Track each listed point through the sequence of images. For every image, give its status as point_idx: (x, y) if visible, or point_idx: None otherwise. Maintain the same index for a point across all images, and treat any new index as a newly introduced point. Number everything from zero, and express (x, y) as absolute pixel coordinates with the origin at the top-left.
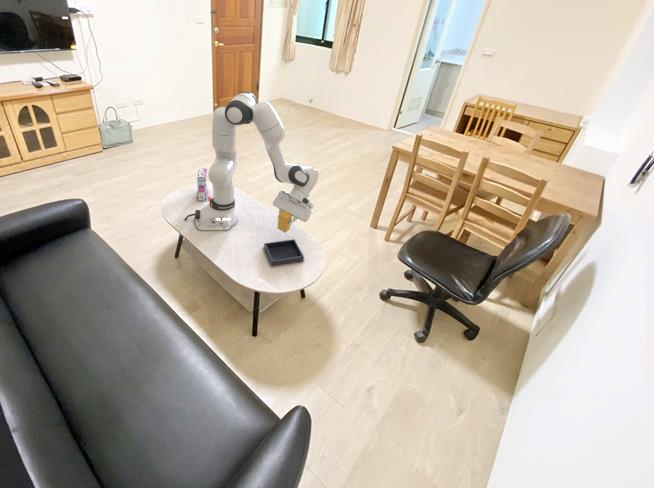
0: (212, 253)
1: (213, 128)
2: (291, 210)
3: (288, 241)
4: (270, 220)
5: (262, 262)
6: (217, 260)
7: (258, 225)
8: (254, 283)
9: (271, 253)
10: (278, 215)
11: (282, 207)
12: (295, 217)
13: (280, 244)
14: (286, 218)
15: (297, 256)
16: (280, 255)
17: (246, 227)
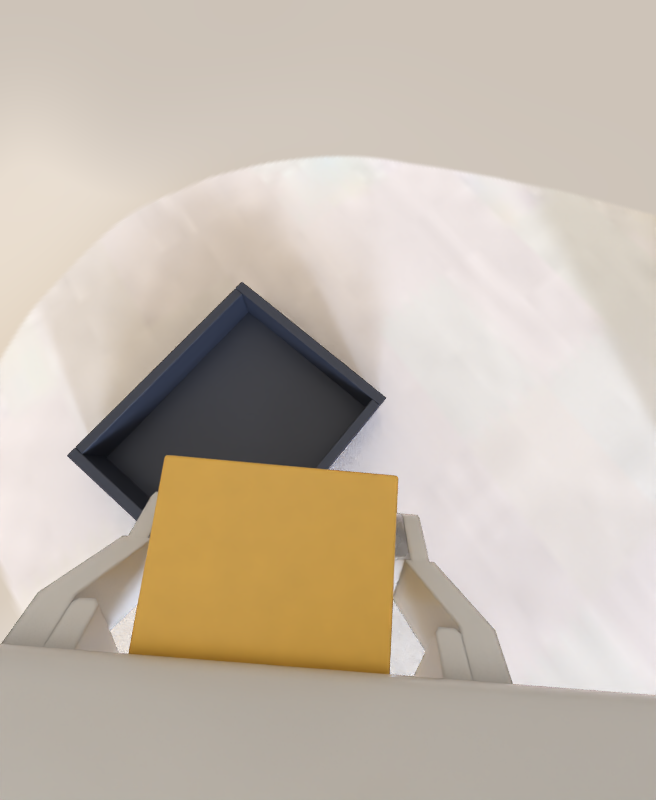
0: (565, 207)
1: None
2: (137, 784)
3: None
4: None
5: (312, 304)
6: (508, 185)
7: (564, 599)
8: (261, 167)
9: (308, 391)
10: (423, 545)
11: (477, 743)
12: (22, 638)
13: None
14: (192, 457)
15: (146, 476)
16: (250, 411)
17: (606, 516)
